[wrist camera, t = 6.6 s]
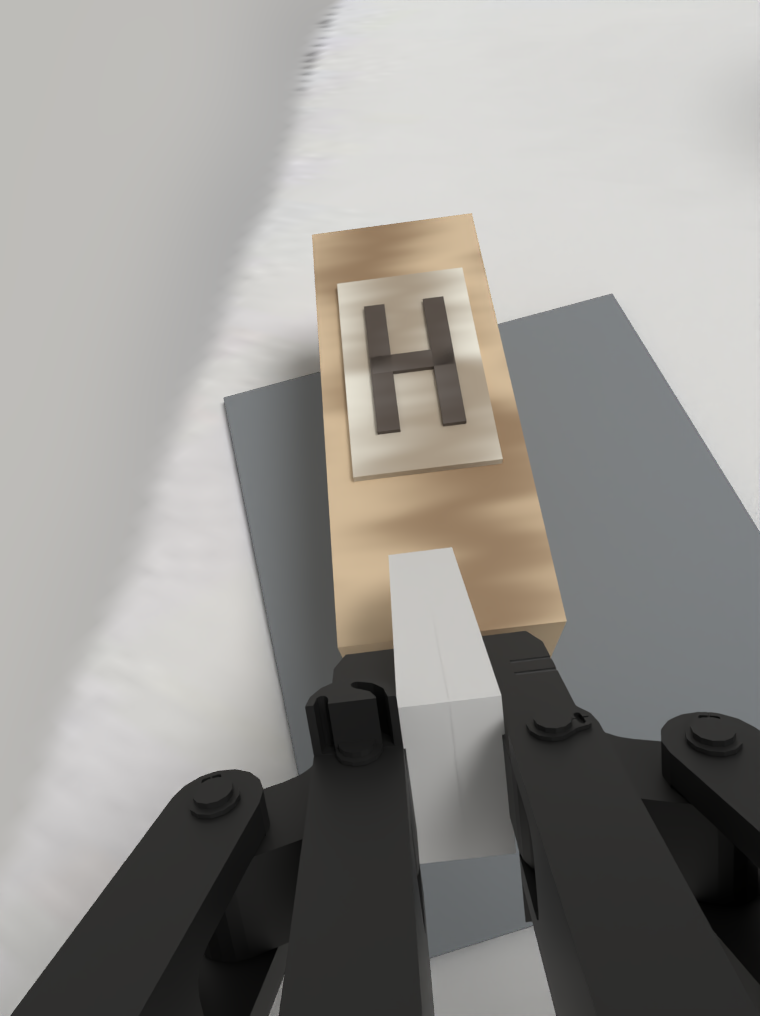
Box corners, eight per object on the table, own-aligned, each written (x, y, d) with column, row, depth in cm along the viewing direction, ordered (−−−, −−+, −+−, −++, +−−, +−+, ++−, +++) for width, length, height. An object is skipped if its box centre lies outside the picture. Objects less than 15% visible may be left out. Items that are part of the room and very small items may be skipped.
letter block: (539, 681, 23) (467, 327, 31) (568, 615, 18) (472, 203, 25) (362, 701, 23) (334, 344, 31) (335, 642, 18) (310, 225, 26)
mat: (610, 300, 32) (612, 293, 31) (918, 802, 21) (925, 800, 21) (226, 403, 31) (223, 397, 30) (342, 984, 20) (340, 986, 20)
